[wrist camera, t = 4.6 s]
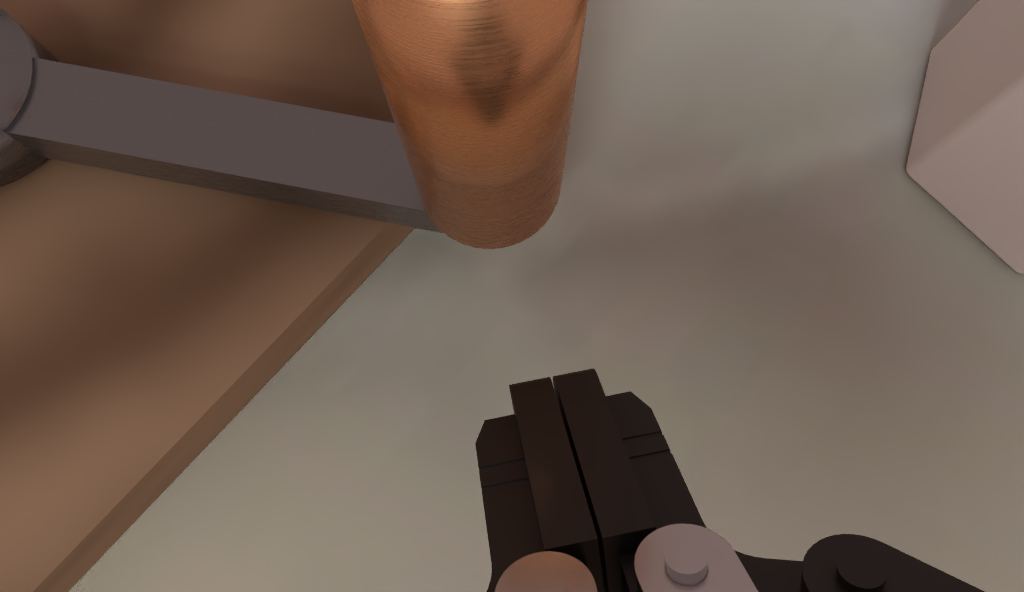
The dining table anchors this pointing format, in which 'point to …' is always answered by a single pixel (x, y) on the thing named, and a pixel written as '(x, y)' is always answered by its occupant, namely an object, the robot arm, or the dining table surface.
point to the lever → (336, 121)
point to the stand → (159, 274)
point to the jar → (977, 126)
